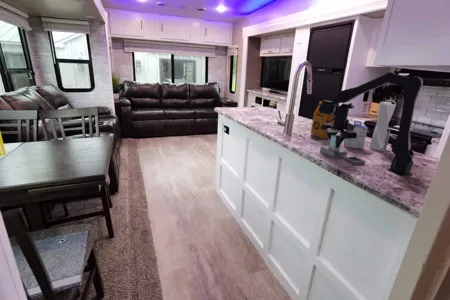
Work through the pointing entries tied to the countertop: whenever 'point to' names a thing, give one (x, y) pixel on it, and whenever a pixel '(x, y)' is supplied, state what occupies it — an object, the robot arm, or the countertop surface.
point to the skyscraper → (382, 126)
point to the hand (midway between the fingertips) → (334, 146)
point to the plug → (333, 143)
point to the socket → (333, 152)
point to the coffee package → (320, 123)
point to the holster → (357, 162)
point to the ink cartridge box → (360, 138)
